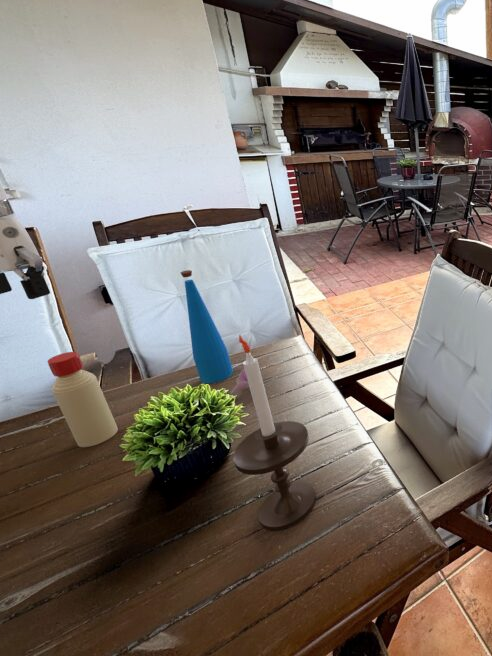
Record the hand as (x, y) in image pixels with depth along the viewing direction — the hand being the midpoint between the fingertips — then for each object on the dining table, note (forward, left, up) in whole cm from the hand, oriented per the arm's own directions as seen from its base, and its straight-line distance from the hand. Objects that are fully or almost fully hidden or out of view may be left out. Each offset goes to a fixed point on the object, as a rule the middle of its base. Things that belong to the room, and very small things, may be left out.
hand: (20, 294), depth 81 cm
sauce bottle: (+6, -7, -32) cm, 34 cm away
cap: (+6, -7, -15) cm, 18 cm away
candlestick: (+48, -41, -32) cm, 71 cm away
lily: (+34, -2, -32) cm, 47 cm away
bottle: (+24, +11, -32) cm, 42 cm away
